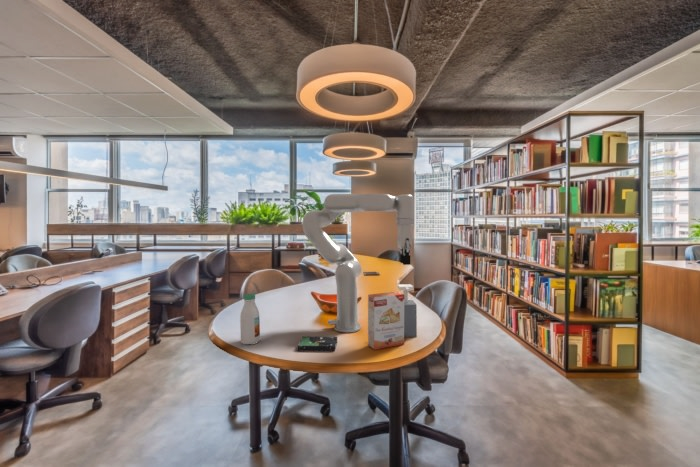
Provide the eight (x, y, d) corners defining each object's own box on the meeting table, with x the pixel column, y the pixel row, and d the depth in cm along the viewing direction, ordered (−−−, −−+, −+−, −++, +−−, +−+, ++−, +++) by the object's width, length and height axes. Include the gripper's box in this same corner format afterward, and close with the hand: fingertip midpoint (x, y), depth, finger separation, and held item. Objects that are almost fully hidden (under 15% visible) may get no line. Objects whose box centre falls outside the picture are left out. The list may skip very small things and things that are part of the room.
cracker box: (374, 350, 122) (374, 297, 121) (367, 345, 127) (367, 294, 127) (405, 344, 127) (404, 293, 127) (397, 339, 133) (396, 290, 132)
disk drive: (337, 343, 132) (302, 342, 132) (337, 336, 132) (302, 335, 132) (335, 353, 121) (297, 352, 122) (335, 346, 121) (297, 345, 122)
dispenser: (398, 336, 136) (398, 304, 136) (395, 330, 144) (395, 300, 144) (416, 336, 136) (416, 304, 136) (412, 330, 144) (412, 300, 144)
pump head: (401, 317, 134) (400, 288, 134) (397, 311, 143) (397, 284, 143) (415, 317, 134) (415, 288, 134) (410, 311, 143) (410, 284, 143)
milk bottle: (249, 346, 127) (248, 297, 127) (236, 343, 131) (235, 295, 131) (263, 340, 134) (262, 293, 133) (251, 337, 138) (250, 292, 137)
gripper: (393, 223, 147) (393, 261, 148) (399, 222, 130) (400, 266, 131) (409, 222, 147) (409, 261, 148) (417, 222, 130) (418, 266, 131)
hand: (405, 263), depth 139 cm, fingers open, 5 cm apart
